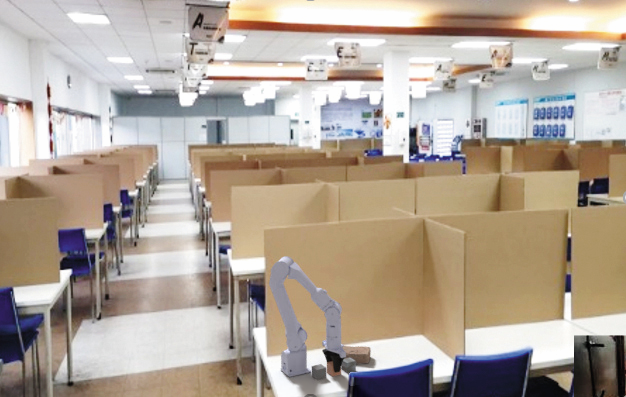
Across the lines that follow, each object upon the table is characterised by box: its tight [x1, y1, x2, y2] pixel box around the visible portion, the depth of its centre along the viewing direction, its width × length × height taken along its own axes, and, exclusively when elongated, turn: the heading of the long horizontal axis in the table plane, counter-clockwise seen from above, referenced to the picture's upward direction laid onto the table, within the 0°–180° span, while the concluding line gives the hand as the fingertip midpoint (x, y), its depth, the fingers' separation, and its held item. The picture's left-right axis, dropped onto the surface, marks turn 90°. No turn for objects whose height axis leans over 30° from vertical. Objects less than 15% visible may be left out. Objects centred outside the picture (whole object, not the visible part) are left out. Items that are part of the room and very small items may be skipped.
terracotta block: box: [326, 361, 342, 377], centre depth 212 cm, size 4×4×4 cm
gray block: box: [311, 363, 327, 381], centre depth 209 cm, size 4×4×4 cm
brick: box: [343, 345, 372, 365], centre depth 226 cm, size 17×8×5 cm, turn 79°
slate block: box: [341, 358, 357, 374], centre depth 215 cm, size 4×4×4 cm
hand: (333, 369), depth 212 cm, fingers closed on terracotta block, 4 cm apart
